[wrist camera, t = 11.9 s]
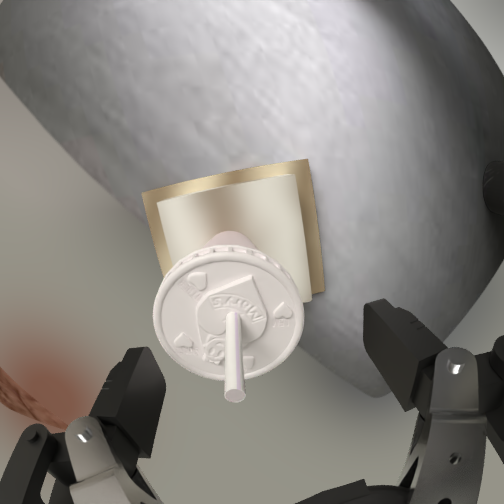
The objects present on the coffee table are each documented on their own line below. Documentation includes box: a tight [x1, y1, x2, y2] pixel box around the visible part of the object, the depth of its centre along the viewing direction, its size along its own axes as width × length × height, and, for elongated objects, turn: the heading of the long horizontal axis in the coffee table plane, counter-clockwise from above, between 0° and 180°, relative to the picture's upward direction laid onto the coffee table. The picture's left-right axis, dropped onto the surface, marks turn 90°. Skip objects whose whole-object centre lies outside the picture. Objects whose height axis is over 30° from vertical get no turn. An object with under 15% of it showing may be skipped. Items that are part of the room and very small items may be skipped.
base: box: [142, 159, 325, 303], centre depth 22 cm, size 14×12×4 cm
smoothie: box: [153, 231, 304, 402], centre depth 13 cm, size 6×6×14 cm
